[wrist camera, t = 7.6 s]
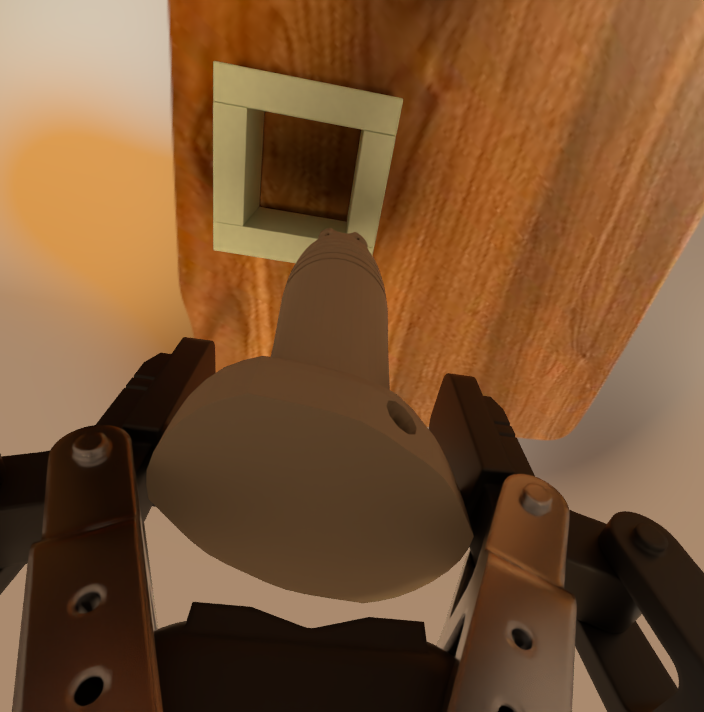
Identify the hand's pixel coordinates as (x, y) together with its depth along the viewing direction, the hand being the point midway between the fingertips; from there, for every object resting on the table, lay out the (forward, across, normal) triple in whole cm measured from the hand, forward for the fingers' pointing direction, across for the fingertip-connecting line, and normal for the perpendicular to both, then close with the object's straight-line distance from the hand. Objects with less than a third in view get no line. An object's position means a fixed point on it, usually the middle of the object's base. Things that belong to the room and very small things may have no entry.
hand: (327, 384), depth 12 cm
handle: (+11, 0, 0) cm, 11 cm away
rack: (+25, +3, -2) cm, 26 cm away
